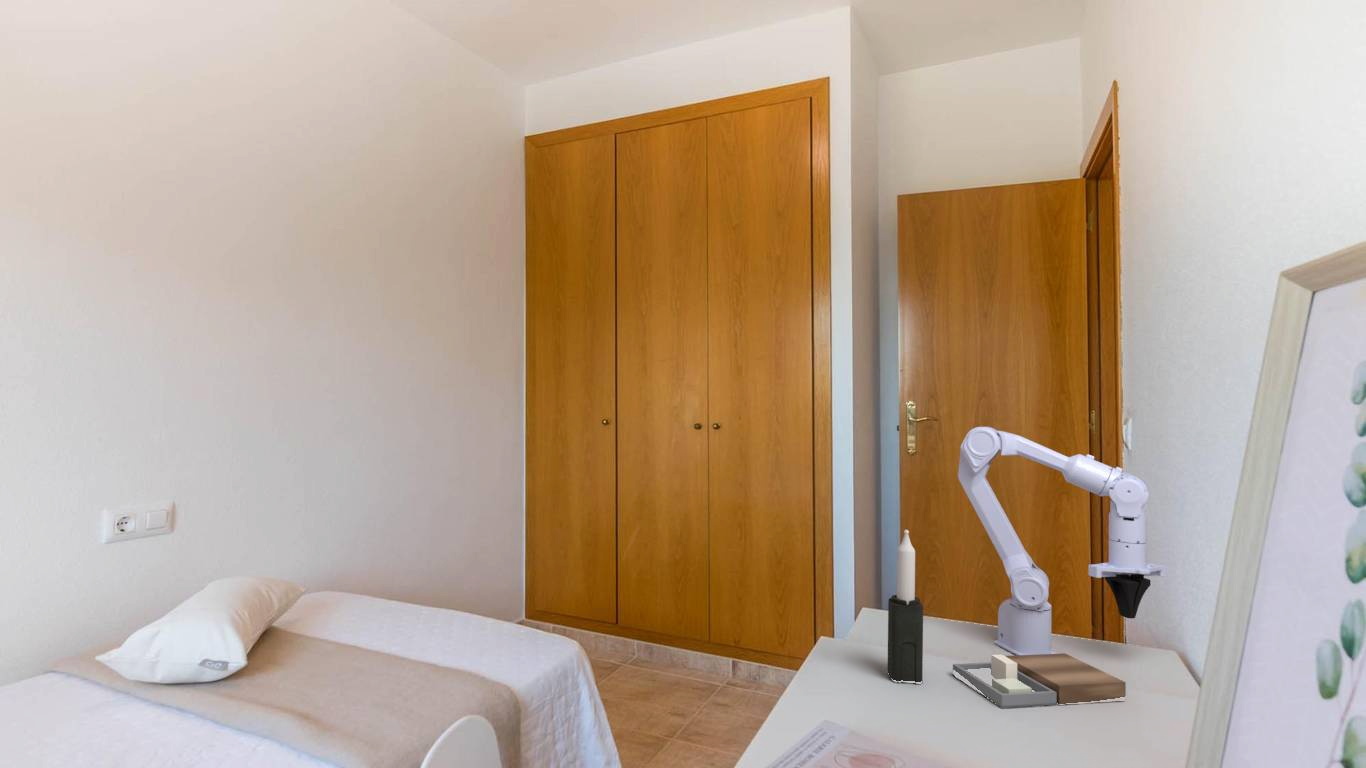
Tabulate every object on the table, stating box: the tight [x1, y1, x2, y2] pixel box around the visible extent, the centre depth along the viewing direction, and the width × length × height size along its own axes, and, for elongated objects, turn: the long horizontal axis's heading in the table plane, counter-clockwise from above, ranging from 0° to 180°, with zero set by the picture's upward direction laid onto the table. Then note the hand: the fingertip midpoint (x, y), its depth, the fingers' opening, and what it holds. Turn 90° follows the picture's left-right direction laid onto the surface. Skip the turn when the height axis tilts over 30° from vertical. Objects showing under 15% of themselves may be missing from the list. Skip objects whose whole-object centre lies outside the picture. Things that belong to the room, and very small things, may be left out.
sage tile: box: [992, 678, 1032, 694], centre depth 107 cm, size 4×4×2 cm
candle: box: [887, 529, 924, 682], centre depth 114 cm, size 5×5×25 cm
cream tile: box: [990, 654, 1017, 679], centre depth 112 cm, size 4×4×2 cm
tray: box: [952, 661, 1058, 709], centre depth 110 cm, size 13×10×2 cm
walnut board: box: [1005, 652, 1127, 705], centre depth 112 cm, size 13×12×3 cm
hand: (1127, 616), depth 121 cm, fingers closed
